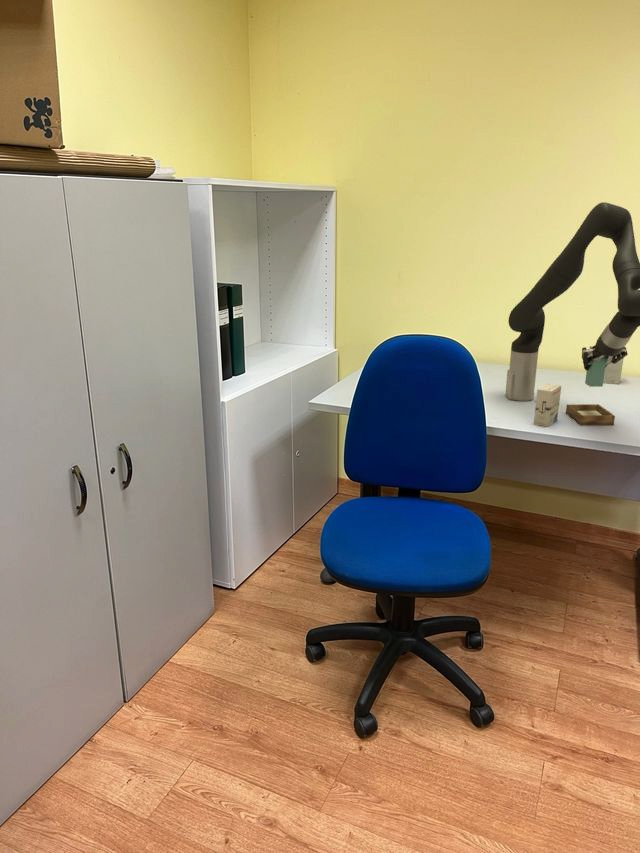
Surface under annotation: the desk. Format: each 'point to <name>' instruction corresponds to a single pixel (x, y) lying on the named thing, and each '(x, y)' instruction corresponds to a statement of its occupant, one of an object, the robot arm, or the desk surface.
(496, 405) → the desk surface
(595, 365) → the teal block
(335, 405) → the desk surface
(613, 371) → the small box
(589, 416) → the tray
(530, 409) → the desk surface
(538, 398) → the ink box
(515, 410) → the desk surface
